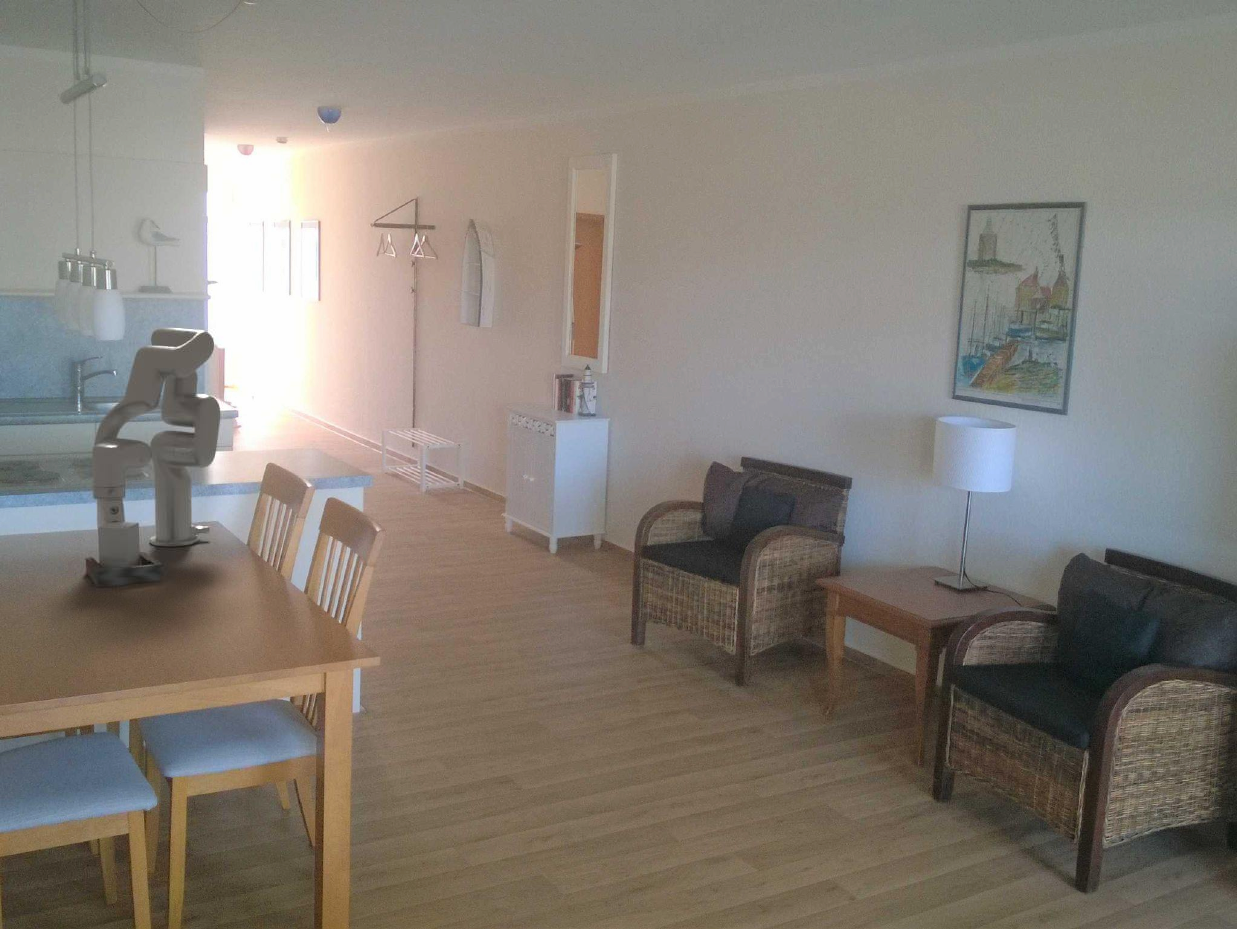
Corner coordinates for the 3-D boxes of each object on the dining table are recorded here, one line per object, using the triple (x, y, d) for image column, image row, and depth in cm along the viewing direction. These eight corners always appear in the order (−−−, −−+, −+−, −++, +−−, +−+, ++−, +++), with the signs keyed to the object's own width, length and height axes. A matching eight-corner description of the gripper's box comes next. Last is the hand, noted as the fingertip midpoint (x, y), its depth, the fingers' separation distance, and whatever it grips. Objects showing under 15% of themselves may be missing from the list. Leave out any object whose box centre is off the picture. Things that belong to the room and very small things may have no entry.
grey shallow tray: (146, 566, 292) (146, 551, 291) (162, 580, 281) (162, 564, 280) (84, 573, 283) (83, 558, 282) (98, 587, 272) (97, 571, 271)
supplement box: (141, 570, 288) (140, 522, 286) (127, 578, 281) (126, 528, 279) (112, 568, 288) (111, 520, 286) (98, 576, 281) (97, 526, 279)
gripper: (132, 496, 284) (133, 566, 287) (117, 485, 296) (118, 553, 299) (100, 498, 279) (102, 570, 282) (86, 487, 291) (88, 556, 294)
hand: (110, 561), depth 291 cm, fingers closed
